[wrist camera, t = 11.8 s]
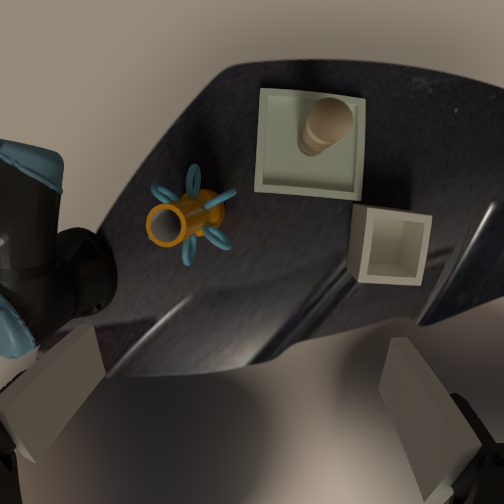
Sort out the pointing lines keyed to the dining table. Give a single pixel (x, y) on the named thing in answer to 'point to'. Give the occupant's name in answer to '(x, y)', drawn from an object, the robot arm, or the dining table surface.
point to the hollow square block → (388, 245)
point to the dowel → (325, 126)
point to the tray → (294, 161)
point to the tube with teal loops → (188, 216)
